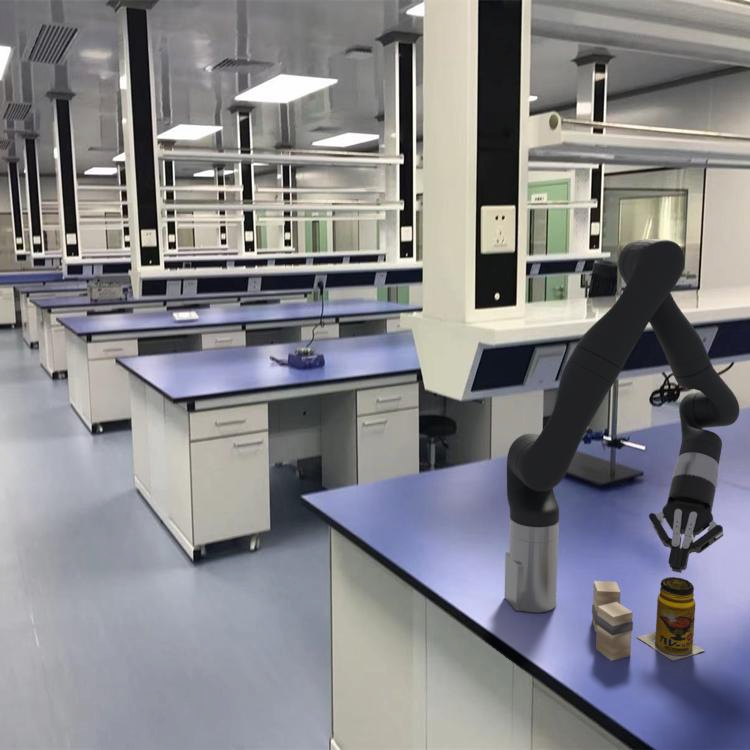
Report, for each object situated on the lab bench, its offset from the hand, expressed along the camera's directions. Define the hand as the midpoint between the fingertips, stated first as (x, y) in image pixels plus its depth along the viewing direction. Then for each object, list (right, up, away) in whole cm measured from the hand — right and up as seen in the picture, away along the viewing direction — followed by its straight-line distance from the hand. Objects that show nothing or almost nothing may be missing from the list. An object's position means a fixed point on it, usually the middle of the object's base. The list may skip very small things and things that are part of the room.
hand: (676, 570), depth 128 cm
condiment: (-1, -13, +1) cm, 14 cm away
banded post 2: (-11, -14, -1) cm, 18 cm away
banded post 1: (-10, -12, +7) cm, 17 cm away
